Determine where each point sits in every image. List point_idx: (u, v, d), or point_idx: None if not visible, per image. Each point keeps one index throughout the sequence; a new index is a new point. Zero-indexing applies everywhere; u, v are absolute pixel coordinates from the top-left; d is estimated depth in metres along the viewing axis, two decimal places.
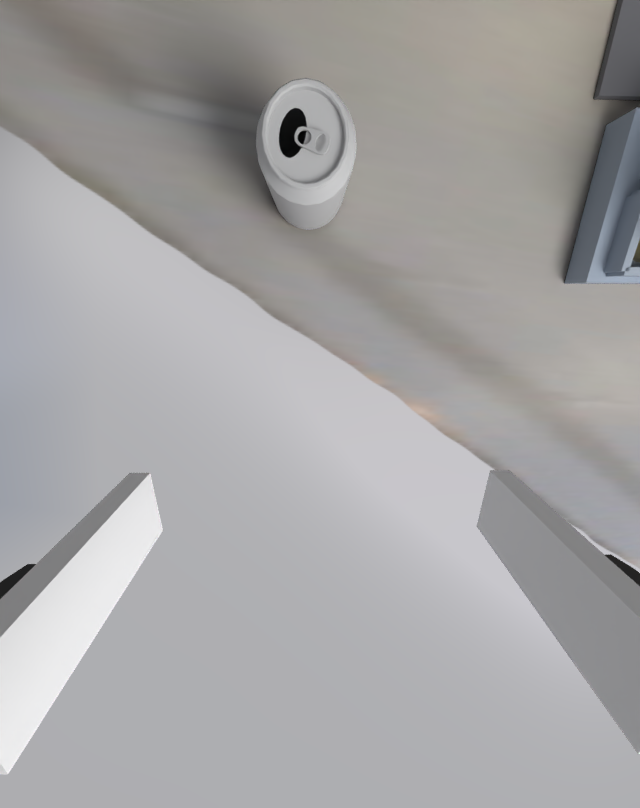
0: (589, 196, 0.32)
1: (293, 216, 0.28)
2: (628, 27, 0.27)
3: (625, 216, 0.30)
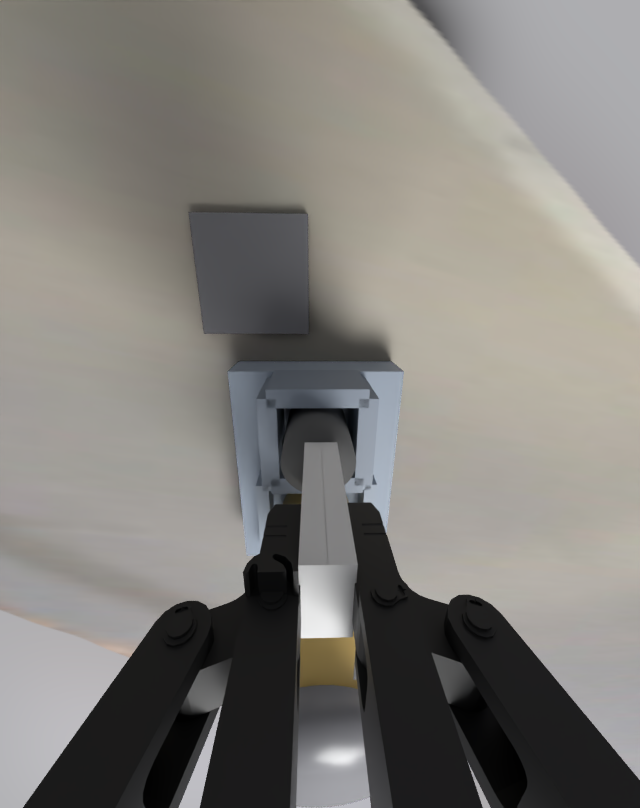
0: None
1: None
2: (212, 253, 0.18)
3: None
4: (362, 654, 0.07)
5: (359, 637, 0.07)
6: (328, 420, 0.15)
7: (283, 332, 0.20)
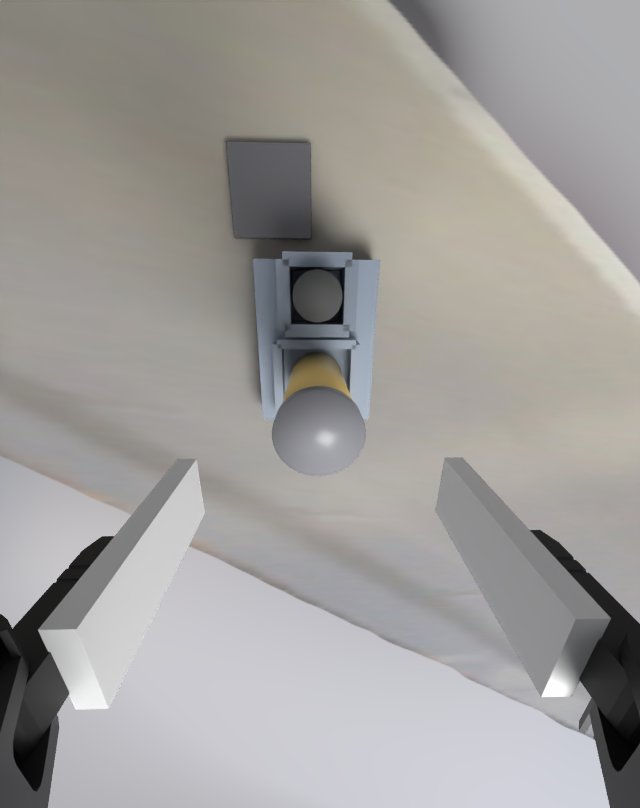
0: None
1: None
2: (242, 173, 0.25)
3: None
4: (612, 710, 0.06)
5: (611, 689, 0.06)
6: None
7: (292, 236, 0.27)
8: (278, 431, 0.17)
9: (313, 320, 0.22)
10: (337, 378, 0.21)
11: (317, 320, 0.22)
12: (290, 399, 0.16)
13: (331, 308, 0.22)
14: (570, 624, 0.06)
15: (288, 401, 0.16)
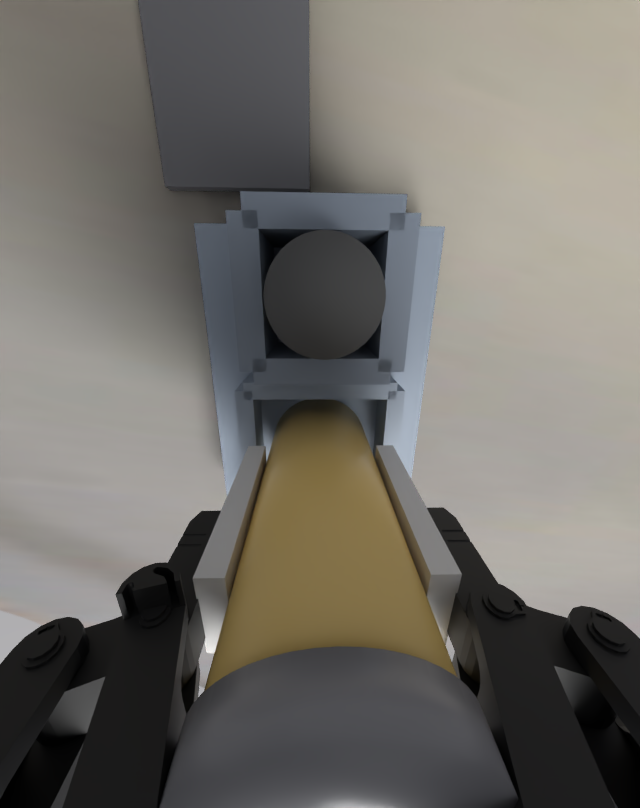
0: None
1: None
2: (172, 52, 0.13)
3: None
4: (466, 660, 0.07)
5: (464, 643, 0.07)
6: None
7: (274, 186, 0.14)
8: None
9: (314, 355, 0.09)
10: (375, 505, 0.08)
11: (324, 355, 0.09)
12: (218, 747, 0.04)
13: (357, 328, 0.09)
14: (430, 580, 0.07)
15: (208, 761, 0.04)
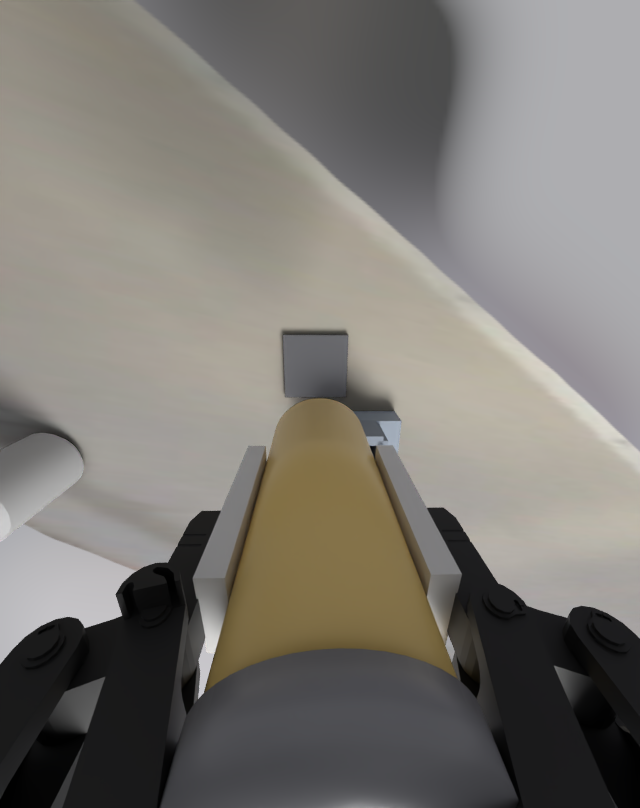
0: None
1: None
2: (294, 355, 0.33)
3: None
4: (466, 660, 0.07)
5: (464, 643, 0.07)
6: None
7: (331, 396, 0.34)
8: None
9: None
10: (376, 506, 0.08)
11: None
12: (218, 750, 0.04)
13: None
14: (430, 580, 0.07)
15: (208, 764, 0.04)
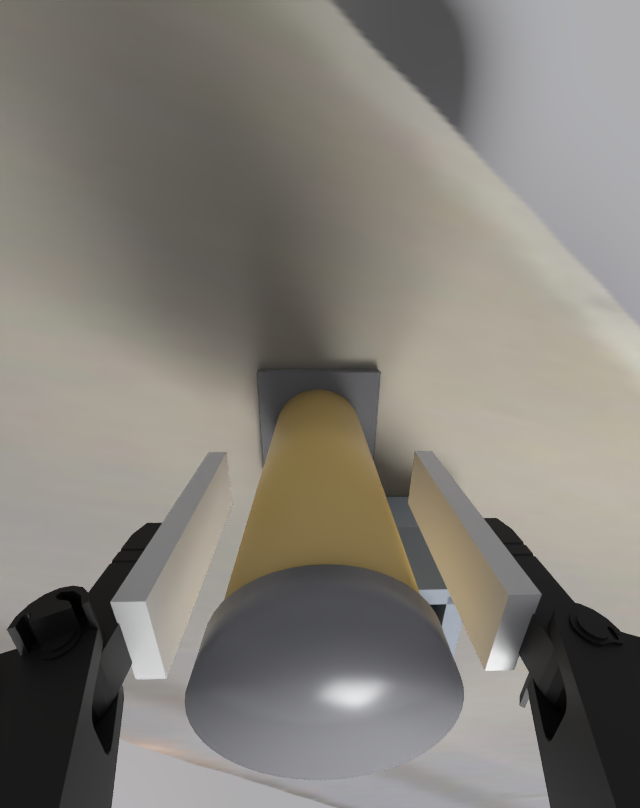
0: None
1: None
2: (278, 408, 0.17)
3: None
4: (545, 682, 0.07)
5: (544, 663, 0.07)
6: None
7: None
8: (204, 703, 0.06)
9: None
10: (363, 476, 0.10)
11: None
12: (235, 627, 0.05)
13: None
14: (505, 600, 0.07)
15: (228, 636, 0.05)
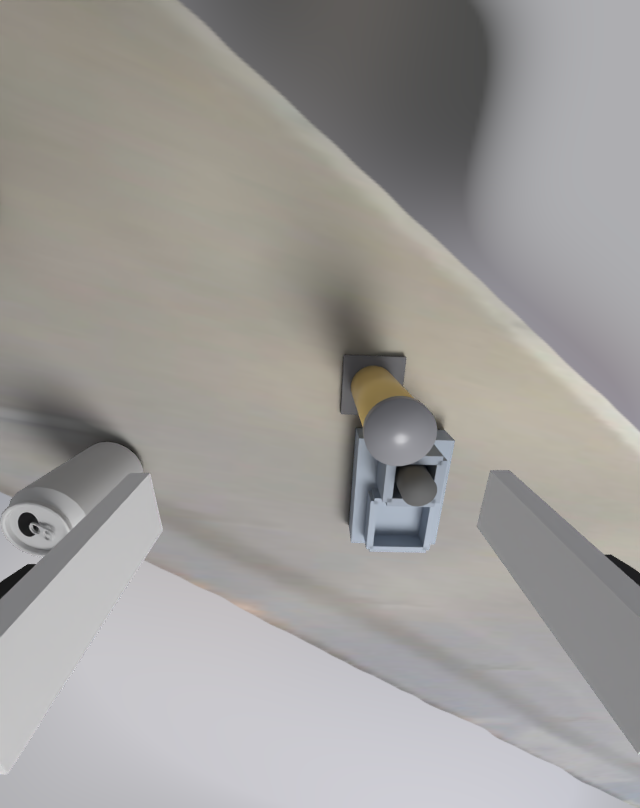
0: (353, 473, 0.39)
1: None
2: (353, 374, 0.34)
3: (367, 506, 0.36)
4: None
5: None
6: (422, 470, 0.30)
7: None
8: (369, 429, 0.22)
9: (414, 505, 0.30)
10: None
11: (416, 505, 0.30)
12: (381, 405, 0.22)
13: (428, 498, 0.30)
14: None
15: (380, 407, 0.22)
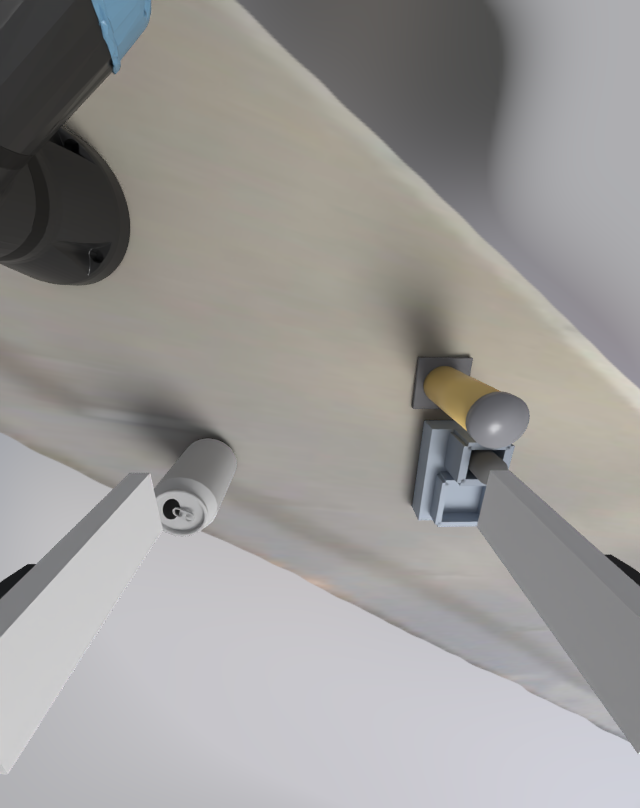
0: (419, 459, 0.44)
1: None
2: (426, 374, 0.39)
3: (436, 488, 0.42)
4: None
5: None
6: (494, 454, 0.36)
7: None
8: (475, 419, 0.27)
9: None
10: None
11: None
12: (486, 399, 0.27)
13: None
14: None
15: (485, 400, 0.27)
